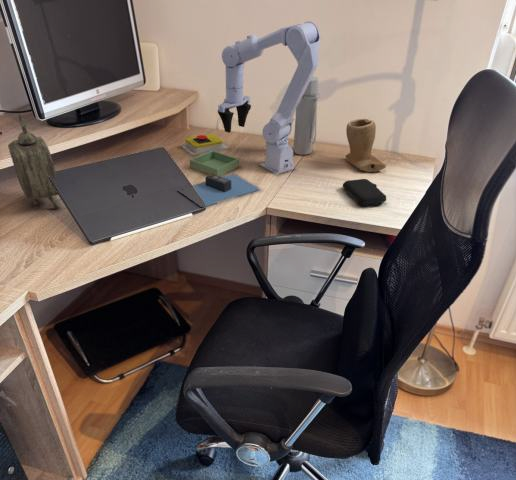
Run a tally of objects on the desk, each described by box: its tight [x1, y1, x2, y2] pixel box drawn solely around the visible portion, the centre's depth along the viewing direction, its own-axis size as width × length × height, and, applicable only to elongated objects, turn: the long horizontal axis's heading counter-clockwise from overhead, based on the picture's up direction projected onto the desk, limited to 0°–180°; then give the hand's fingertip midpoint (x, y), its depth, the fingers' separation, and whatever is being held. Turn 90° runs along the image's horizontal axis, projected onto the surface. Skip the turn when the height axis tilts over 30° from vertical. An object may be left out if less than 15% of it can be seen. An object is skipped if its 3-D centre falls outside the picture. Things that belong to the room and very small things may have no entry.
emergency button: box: [181, 133, 229, 156], centre depth 183 cm, size 9×4×15 cm
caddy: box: [189, 150, 240, 177], centre depth 171 cm, size 12×12×3 cm
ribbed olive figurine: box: [7, 113, 60, 210], centre depth 140 cm, size 14×9×25 cm, turn 30°
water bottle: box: [292, 75, 321, 156], centre depth 176 cm, size 9×8×25 cm
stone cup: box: [344, 118, 387, 173], centre depth 172 cm, size 15×12×15 cm
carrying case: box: [342, 178, 387, 207], centre depth 157 cm, size 11×3×15 cm
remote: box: [204, 174, 231, 192], centre depth 159 cm, size 8×3×3 cm, turn 53°
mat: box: [192, 173, 260, 209], centre depth 158 cm, size 14×22×1 cm, turn 128°
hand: (234, 129), depth 174 cm, fingers open, 7 cm apart
